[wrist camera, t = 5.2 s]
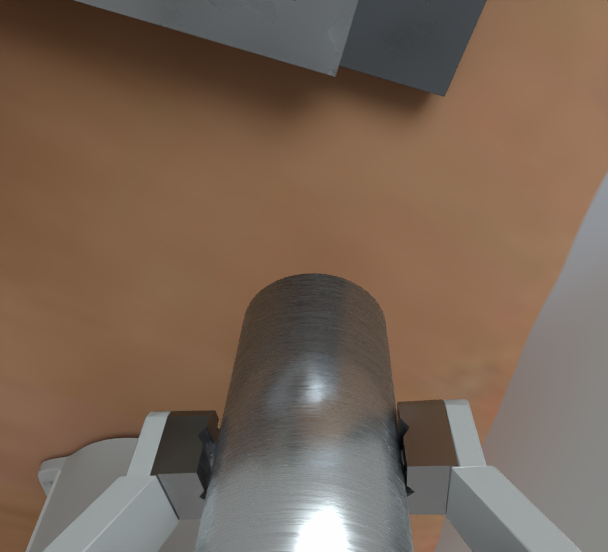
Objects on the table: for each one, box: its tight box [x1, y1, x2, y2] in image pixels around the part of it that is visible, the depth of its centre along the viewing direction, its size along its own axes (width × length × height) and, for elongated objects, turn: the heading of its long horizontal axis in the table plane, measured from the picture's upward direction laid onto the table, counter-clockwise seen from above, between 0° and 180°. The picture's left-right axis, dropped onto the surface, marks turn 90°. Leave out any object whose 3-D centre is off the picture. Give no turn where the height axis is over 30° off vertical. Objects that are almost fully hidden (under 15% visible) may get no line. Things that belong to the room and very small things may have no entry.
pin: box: [194, 273, 414, 552], centre depth 11 cm, size 5×5×9 cm
